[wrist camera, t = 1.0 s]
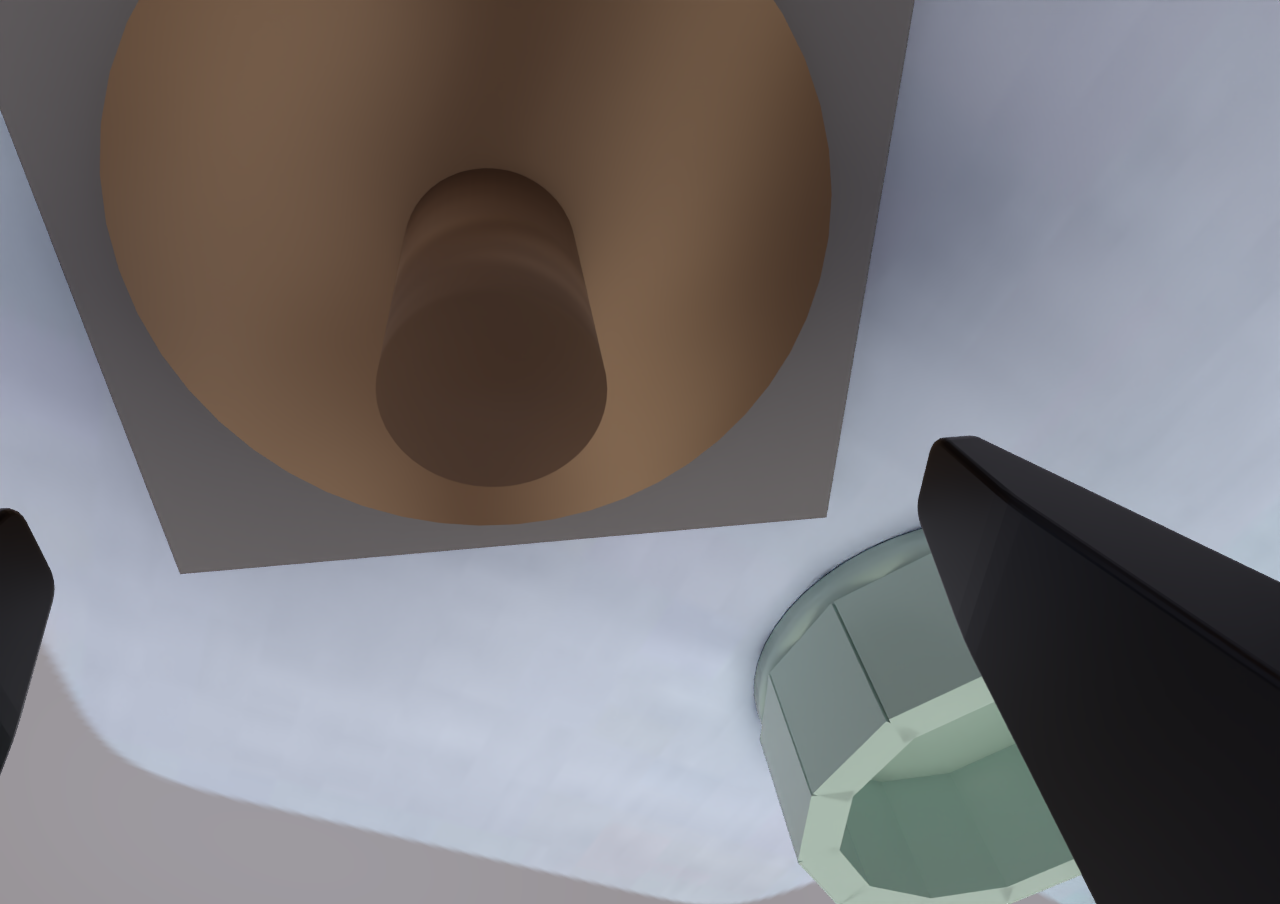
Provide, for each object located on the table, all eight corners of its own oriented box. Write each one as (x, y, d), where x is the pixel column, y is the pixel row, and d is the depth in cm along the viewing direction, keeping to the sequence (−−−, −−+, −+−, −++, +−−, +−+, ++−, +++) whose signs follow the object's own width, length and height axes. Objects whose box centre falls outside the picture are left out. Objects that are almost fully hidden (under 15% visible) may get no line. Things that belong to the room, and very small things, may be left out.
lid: (864, -172, 13) (1069, -180, 8) (781, 478, 19) (870, 666, 15) (-12, -185, 11) (-334, -204, 7) (227, 523, 18) (141, 747, 13)
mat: (943, -271, 12) (961, -275, 12) (818, 501, 20) (826, 517, 20) (-136, -307, 11) (-163, -314, 10) (188, 554, 19) (180, 573, 18)
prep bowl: (1153, 503, 22) (1285, 632, 19) (1045, 750, 28) (1130, 886, 24) (772, 537, 21) (834, 684, 17) (740, 789, 27) (781, 939, 23)
